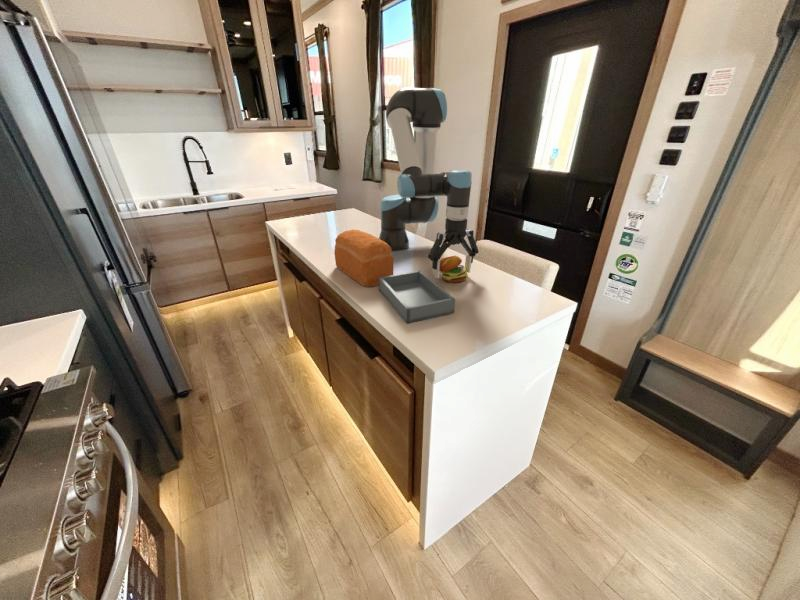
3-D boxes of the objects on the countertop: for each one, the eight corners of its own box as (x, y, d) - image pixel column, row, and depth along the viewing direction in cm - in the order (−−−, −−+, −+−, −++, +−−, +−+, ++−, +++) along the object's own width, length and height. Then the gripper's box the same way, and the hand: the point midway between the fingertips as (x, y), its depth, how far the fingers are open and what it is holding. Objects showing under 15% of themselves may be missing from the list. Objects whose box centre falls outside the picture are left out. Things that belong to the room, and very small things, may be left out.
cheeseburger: (468, 285, 117) (464, 259, 112) (439, 288, 120) (434, 264, 115) (468, 273, 125) (464, 250, 121) (441, 277, 128) (437, 254, 124)
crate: (379, 290, 113) (378, 277, 111) (419, 282, 118) (420, 270, 116) (406, 323, 93) (406, 309, 91) (453, 313, 99) (455, 298, 97)
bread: (365, 289, 114) (362, 247, 106) (333, 267, 132) (329, 229, 125) (396, 280, 121) (396, 239, 113) (362, 260, 140) (360, 224, 132)
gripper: (429, 224, 104) (427, 283, 114) (492, 217, 112) (485, 272, 122) (419, 219, 110) (418, 275, 120) (480, 212, 119) (473, 265, 129)
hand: (452, 274), depth 121 cm, fingers open, 13 cm apart
